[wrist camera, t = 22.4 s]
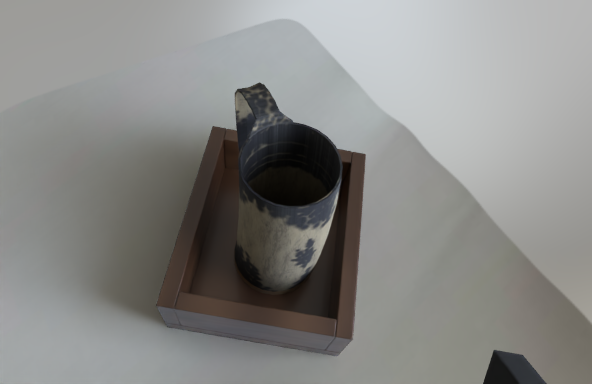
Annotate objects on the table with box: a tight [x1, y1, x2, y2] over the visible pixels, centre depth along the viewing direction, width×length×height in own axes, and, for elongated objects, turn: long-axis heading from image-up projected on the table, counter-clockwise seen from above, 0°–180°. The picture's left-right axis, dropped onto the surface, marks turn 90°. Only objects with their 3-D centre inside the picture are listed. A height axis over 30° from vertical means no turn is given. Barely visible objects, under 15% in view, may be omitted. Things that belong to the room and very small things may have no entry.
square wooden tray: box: [156, 126, 366, 356], centre depth 29 cm, size 11×13×4 cm
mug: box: [234, 83, 343, 295], centre depth 25 cm, size 8×6×12 cm
